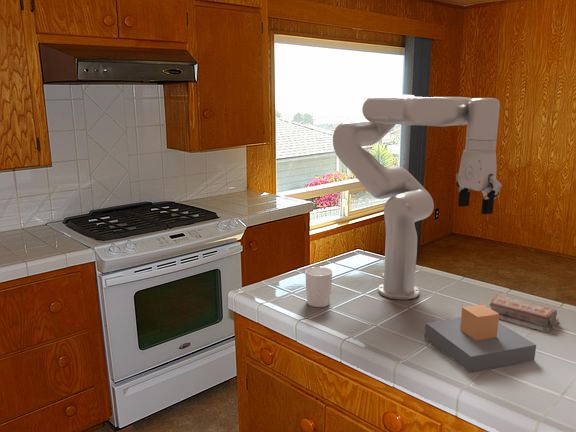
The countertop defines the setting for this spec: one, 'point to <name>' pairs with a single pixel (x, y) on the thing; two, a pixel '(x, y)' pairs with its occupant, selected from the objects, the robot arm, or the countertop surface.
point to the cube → (479, 322)
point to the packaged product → (524, 313)
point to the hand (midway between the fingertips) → (474, 209)
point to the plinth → (479, 346)
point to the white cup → (318, 286)
